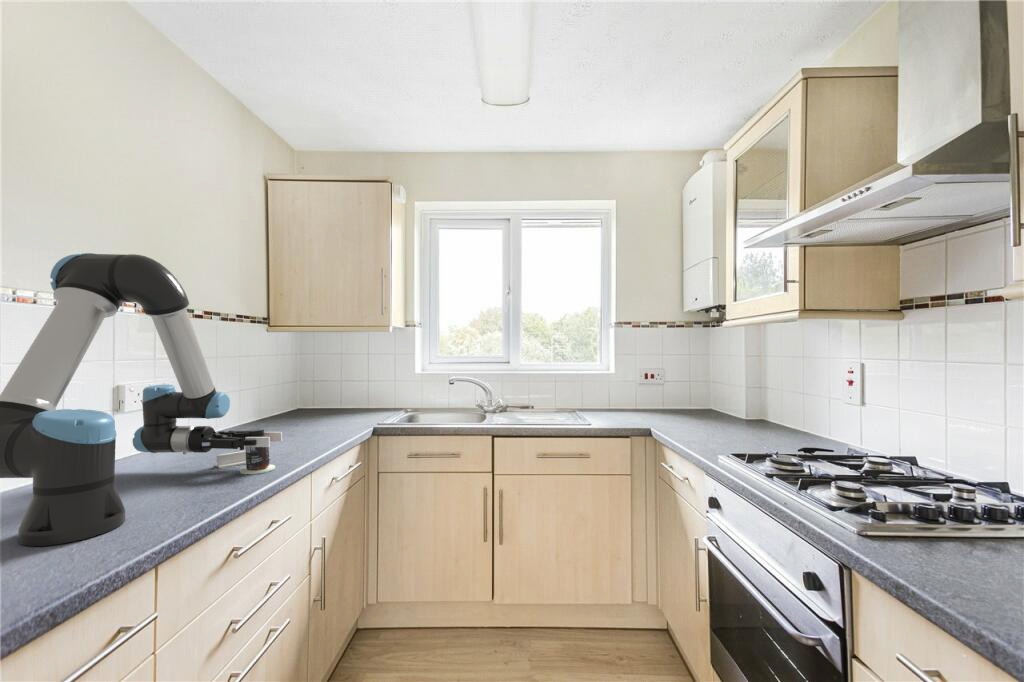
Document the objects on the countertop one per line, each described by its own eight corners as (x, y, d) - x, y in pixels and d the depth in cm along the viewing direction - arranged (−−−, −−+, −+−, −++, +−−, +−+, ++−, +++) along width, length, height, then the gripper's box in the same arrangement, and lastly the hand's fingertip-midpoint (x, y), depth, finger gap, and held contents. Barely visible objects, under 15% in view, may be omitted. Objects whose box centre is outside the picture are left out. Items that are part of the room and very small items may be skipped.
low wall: (270, 459, 143) (270, 448, 143) (219, 468, 133) (219, 456, 133) (264, 457, 146) (264, 446, 146) (214, 465, 136) (214, 454, 136)
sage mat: (280, 469, 132) (280, 468, 132) (246, 476, 125) (246, 474, 125) (268, 464, 138) (268, 462, 138) (235, 470, 131) (235, 468, 131)
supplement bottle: (267, 463, 136) (265, 426, 136) (271, 467, 131) (270, 429, 131) (244, 467, 132) (243, 429, 132) (247, 472, 127) (246, 432, 127)
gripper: (215, 444, 141) (290, 444, 142) (170, 460, 121) (257, 460, 122) (216, 420, 141) (290, 420, 142) (171, 433, 121) (258, 433, 122)
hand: (275, 439), depth 132 cm, fingers open, 7 cm apart
